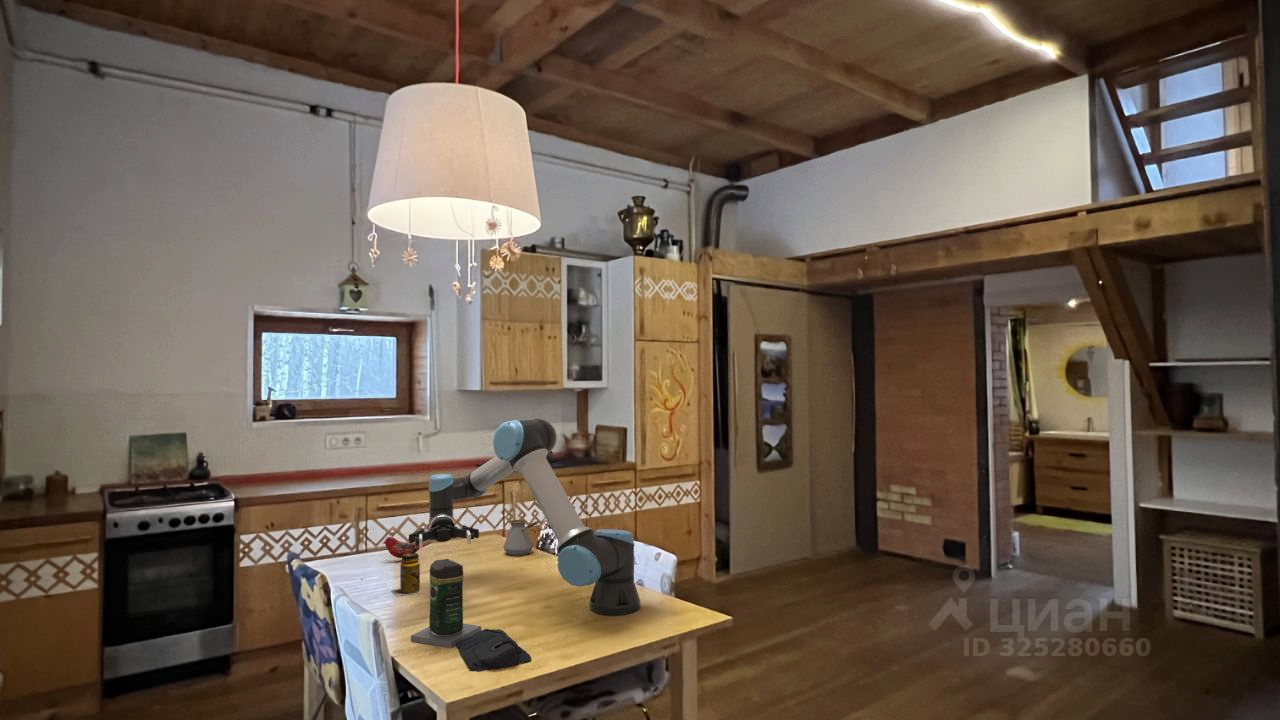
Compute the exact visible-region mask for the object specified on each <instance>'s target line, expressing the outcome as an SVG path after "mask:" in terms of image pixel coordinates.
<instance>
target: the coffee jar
mask: <svg viewBox="0 0 1280 720" xmlns="http://www.w3.org/2000/svg"><path fill="white" fill-rule="evenodd" d="M463 583H464V566H463V564H460V563H459V562H456V561H454V560H450V559H448V558H443V559H436V560H434V561H433V562H431V564H430V566H429V585H430V586H429V587H430V589H429V590H430V592H429V593H430V594H429V618H428V619H429V622H428V623H429V625H428V627H429V628H430V629H431V631H432V632H434V633H435V634H438V635H453V634H456V633H457V632H459V631H462V629H463V623H464V605H463V604H464V603H463V602H464V601H463V600H464V599H463V595H464V594H463V592H464V591H463V589H464V588H463V587H464V585H463Z"/></svg>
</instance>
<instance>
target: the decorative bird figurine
mask: <svg viewBox="0 0 1280 720" xmlns="http://www.w3.org/2000/svg"><path fill="white" fill-rule="evenodd" d="M382 544H384V545H385V547H386V549H387V551H388V552H389V554H390V555H391V556H393V557H394V558H398V559H401V560H402V555H403V554H406V553H417V552H418V551H419V550H420V549H421V548H420V547H419V546H415V543H411V544H410V543H409V542H403V541H400V540H398V539H397V538H395V537H392V536H387V537H386V538H385V540H384V541H383V542H382ZM430 544H431V542H427V543H422V548H424V547H427V546H429V545H430ZM401 560H396V561H394V563H399V562H400V563H402V561H401Z"/></svg>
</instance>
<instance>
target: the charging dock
mask: <svg viewBox="0 0 1280 720" xmlns="http://www.w3.org/2000/svg"><path fill="white" fill-rule="evenodd" d="M481 630H482V625H476V624H472V623H470V624H469V623H464V622H463V629H462V631H459V632H457V633H456V634H453V635H438V634H435V633H434V632H432V631H431V629H430V628H429V626H428V627H426V628H423V629H421V630H419V631H417V632H415V633H412V634H411V635H410V641H411V642H413V643H419V644H424V645H426V644H427V645H432V646H436V647H437V646H438V647H442V648H443V647H444V648H450V649H452V648H454V647H457V646H456V644H457V643H458V642H459V641H461V640H462V639H465V638H467V637H470V636H472V635H473V634H475V633H477V632H479V631H481Z"/></svg>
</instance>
